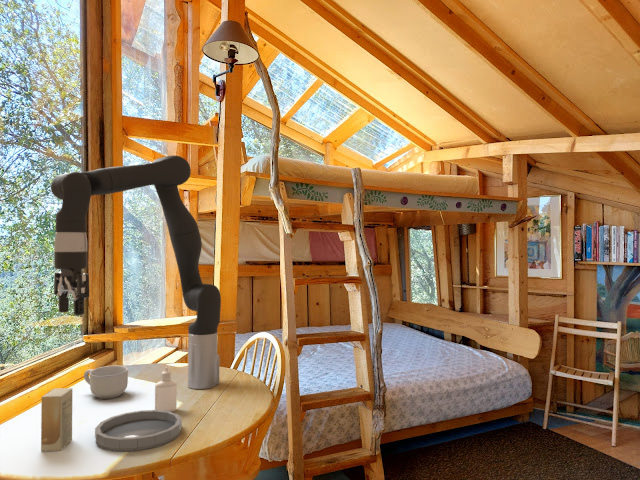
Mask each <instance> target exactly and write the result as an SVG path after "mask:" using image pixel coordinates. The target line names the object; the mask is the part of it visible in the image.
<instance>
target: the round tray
mask: <svg viewBox="0 0 640 480" xmlns="http://www.w3.org/2000/svg"><path fill="white" fill-rule="evenodd" d="M182 424H183V423H182V417H180V415H179V414H177V413H174V412H170V411H161V410H155V409H148V410H137V411H130V412H124V413H121V414H117V415H114V416H110V417H109V418H107V419H105V420H102V421H100V422H99V424H98V425H96V427H95V429H94V438H95V445H96V447H98V448H100V449H102V450H105V451H106V452H107V451H109V452H115V453H116V452H117V453H131V452H132V453H133V452H141V451H147V450H152V449H155V448H158V447H162V446H164V445H167V444H169V443H171V442H173V441H175V440H176V439H177V438H178V437H180V435H181V429H182Z"/></svg>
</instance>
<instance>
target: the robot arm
mask: <svg viewBox="0 0 640 480" xmlns="http://www.w3.org/2000/svg"><path fill="white" fill-rule="evenodd" d="M190 165H191V164H190V163H189V162H188V161H187V160H186V159H185V158H184V157H182V156H180V155H168V156H163V157H158V158H156V159H154V160H153V161H152V162H150V163H143V164H134V165H122V166H120V165H119V166H111V167H103V168H102V167H101V168H97V169H95V170H94V169H93V170H90V171H82V172H81V171H70V172H65V173H61V174H59V175H56V176H55V177H54V178H53V179H52V181H51V182H50V191H51V193H52V195H53V196H54V197H56V198H57V199H59V200H62V203H61V204H62V205H61V208H60V209H59V210H58V211H57V212H56V215H55V236H54V246H53V247H54V250H53V251H54V253H53V254H54V260H53V261H54V263H53V264H54V266H53V267H54V269H55V270H60V271H58V272H56V271H55V272H54V280H53V281H54V285H53V286H54V287H53V294H54V295H55V296H56V297H57V298H58V312H59V313H67V312H69V310H70V309H69V305H70V304H69V300H70V299H69V296H70V294H72V297H73V315H74V316H80V315H81V316H82V315H84V314H85V300H86V299H87V298H89V297H90V277H89V273H88V272H87V273H83V271H82V269H87V268H88V238H87V214H88V210H89V207H90V203H91V202H90V201H91V197H92V196H98V195H99V196H101V195H102V196H103V195H110V194H115V193H120V192H126V191H131V190H135V189H138V188H142V187H148V186H154V189H155V191H156V194H157V196H158V198H159V201H160V205H161V208H162V211H163V214H164V215H163V216H164V219H165V223H166V226H167V231H168V234H169V238H170V239H169V240H170V242H171V246H172V250H173V253H174V257H175V261H176V264H177V265H176V266H177V268H178V269H177V270H178V272H179V278H180V285H181V292H182V296H183V297H182V298H183V302H184V304H185V306H186V308H187V309H189V310H190V311H193V312H196V320H195V321H194V322H191V323H190V324H189V325H188V330H187V331H188V334H187V335H188V336H187V337H188V341H187V343H188V348H187V351H188V353H187V354H188V355H187V356H188V357H187V358H188V359H187V360H188V361H187V362H188V363H187V387H188V388H189V389H194V390H205V389H211V388H213V387H214V388H215V387H216V386H217V385H219V384H220V359H221V358H220V354H218V327H219V324H220V321H221V320H220V319H221V307H222V306H221V305H222V299H221V298H222V297H221V292H220V290H219V288H218V287H217V286H216V285H214V284H209V283H203V281H202V278H201V274H200V269H199V262H200V257H201V253H202V245H203V243H202V237H201V233H200V229H199V225H198V223H197V220H196V218H194V216H193V215H192V213H191V212H190V211H189V210H188V208H187V207H186V205H185V203H184V202H183V200H182V198H181V195H180V192H179V188H178V187H179V186H180V185H181V186H182V185H183V184H185V183H186V182H188V181H189V179H190V177H191V173H192V172H191V171H192V170H191V166H190Z"/></svg>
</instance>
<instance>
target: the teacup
mask: <svg viewBox="0 0 640 480" xmlns="http://www.w3.org/2000/svg"><path fill="white" fill-rule="evenodd" d="M83 373H84V374H83V377H84V381H86V383H87V384H88V385H89V387H90V391H91V393H92V395H93V396H95V397H96V398H98V399H103V400H107V399H114V398H118V397H119V396H121V395H122V394H123V393H124V392H125V391H126V390H127V388H128V384H129V383H128V382H129V381H128V378H129V368H128V367H127V366H125V365H106V366H101V367H97V368H94V369H93V368H90V369H86V370H85V371H84V372H83Z"/></svg>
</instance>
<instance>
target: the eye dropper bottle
mask: <svg viewBox="0 0 640 480" xmlns="http://www.w3.org/2000/svg"><path fill="white" fill-rule="evenodd" d="M160 377H161V378H160V379H161V380H159V381H158V382H156V383H155V386H154V410H161V411H170V412H172V413H174V412H176V410H177V397H178V396H177V395H178V393H177V392H178V391H177V382H176V381H175V380H173V379H171V371H169V369H168V366H165V367H164V369H163V371H162V372H161V376H160Z"/></svg>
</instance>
